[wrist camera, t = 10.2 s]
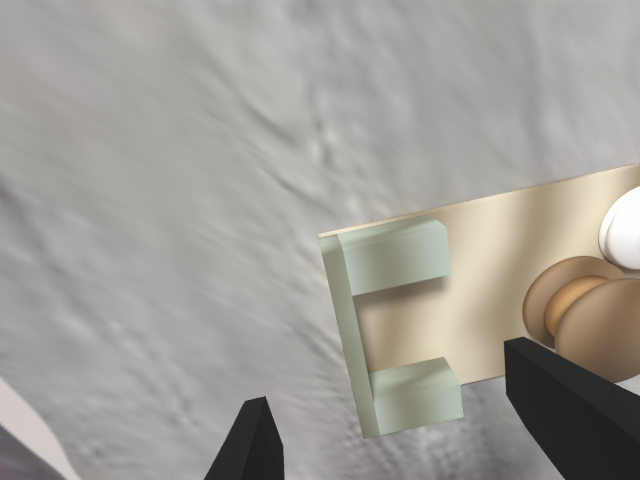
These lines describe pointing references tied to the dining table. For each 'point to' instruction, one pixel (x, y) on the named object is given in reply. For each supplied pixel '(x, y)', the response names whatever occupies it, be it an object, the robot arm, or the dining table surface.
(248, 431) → the robot arm
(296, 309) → the dining table surface
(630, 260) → the chess piece
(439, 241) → the station
